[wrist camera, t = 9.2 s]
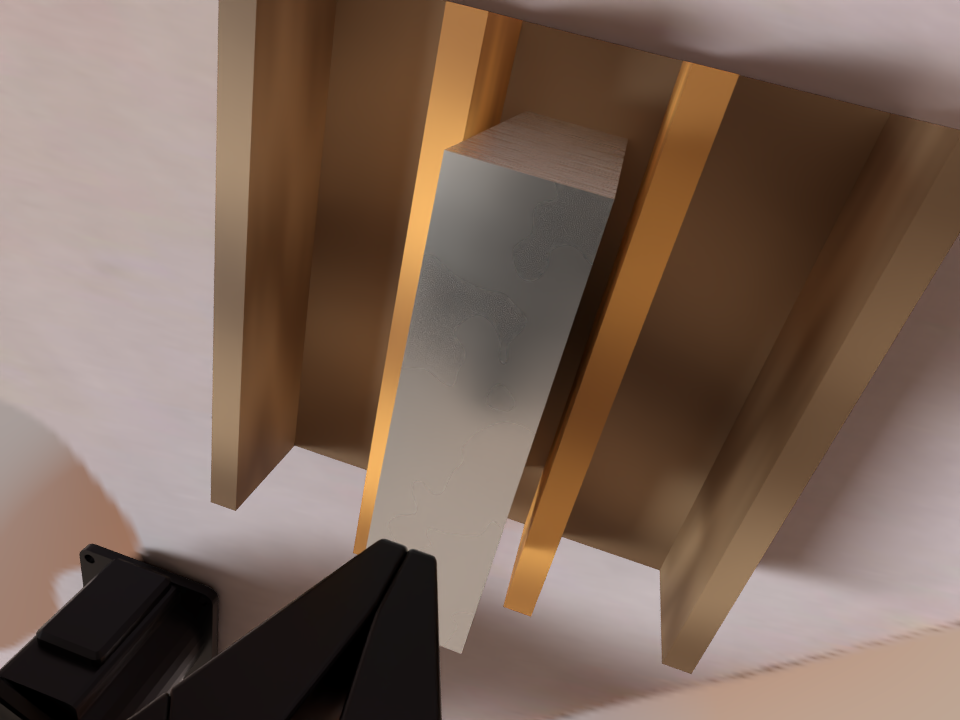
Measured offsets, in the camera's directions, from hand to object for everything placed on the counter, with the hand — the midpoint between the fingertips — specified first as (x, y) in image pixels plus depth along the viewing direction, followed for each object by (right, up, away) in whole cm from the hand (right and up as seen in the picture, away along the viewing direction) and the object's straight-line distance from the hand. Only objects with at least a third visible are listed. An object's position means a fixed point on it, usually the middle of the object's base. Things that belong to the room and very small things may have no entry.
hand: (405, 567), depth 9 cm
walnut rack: (+3, +5, +9) cm, 11 cm away
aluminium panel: (+2, +4, +8) cm, 10 cm away
